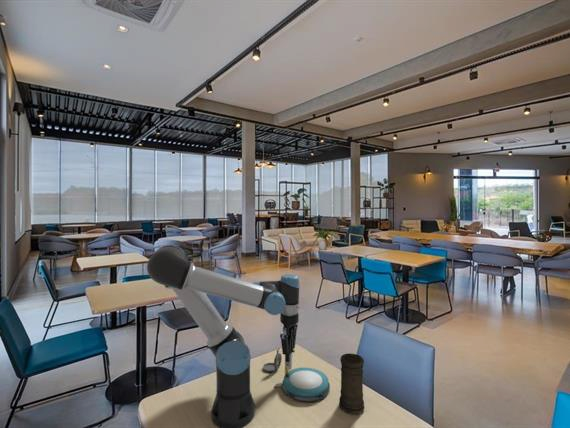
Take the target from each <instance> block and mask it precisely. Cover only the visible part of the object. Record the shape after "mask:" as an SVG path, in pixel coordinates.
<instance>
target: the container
mask: <svg viewBox="0 0 570 428" xmlns="http://www.w3.org/2000/svg"><path fill="white" fill-rule="evenodd" d="M339 360H340V365H341V368H340V373H341V374H340V397H339V400H338V401H339V402H338V404H339V408H340V409H341V410H342V411H343V412H344V413H345V414H348V415H352V416H353V415H355V416H358V415H361V414H363V413H364V411H365V401H364V391H363V390H364V387H363V386H364V385H363V383H364V382H363V381H364V369H363V368H364V364H365V359H364V357H362V356H361V355H359V354H356V353H350V352H349V353H344V354H342V355H341V356H340V359H339Z"/></svg>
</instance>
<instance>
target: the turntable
mask: <svg viewBox="0 0 570 428" xmlns="http://www.w3.org/2000/svg"><path fill="white" fill-rule="evenodd" d="M283 380H284V387H285V388H286V390H287V391H288V392H290V393H291V394H294V395H296V396H300V397H315V396H319V395H321V394H323V393H324V392H325V391H326V390H327V389H328V382H329V379H328V376H327V375H326V374H325V373H324V372H323V371H321V370H318V369H315V368H313V367H298V368H297V367H296V368H294V369H293V368H292V369H291V370H289V364H285V363H284V376H283Z"/></svg>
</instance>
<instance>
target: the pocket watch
mask: <svg viewBox="0 0 570 428" xmlns="http://www.w3.org/2000/svg"><path fill="white" fill-rule="evenodd" d="M279 351H280V347H278V348H277V350H276V355H274V356H275V357H274V359H273V362H267V363H265V364H263V366H262V368H263V370H264V371H265V372H269V373H272V372H273V373H274V372H276V371H277V370H279V368H281V367H280V366H281V364H282V353H280V352H279Z"/></svg>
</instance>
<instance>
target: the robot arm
mask: <svg viewBox="0 0 570 428" xmlns="http://www.w3.org/2000/svg"><path fill="white" fill-rule="evenodd" d="M146 271H147V274H148V276H149V277H150V279H151V280H152V281H154V282H155V283H157V284H159V285H163V286H164V287H165V288H166V289H169V290H173V292H174V293H175V295H176V296H177V298H178V299H179V301H180V302H181V303H182V304H183V306H184V307H185V309H186V310H187V312H188V313H189V314H190V316H191V317H192V319H193V320H194V321H195V323H196V325H197V326H198V327H199V328H200V330H201V331H202V333H203V334H204V336H205V337H206V338H207V341H206V345H207V347H208V348H209V350H210V351H211V353H212V354H213V356H214V358H215V367H216V368H215V369H216V373H215V374H216V377H215V378H216V394H215V396H214V397H215V398H214V400H213V404H212V407H211V420H212V423H213V424H214V425H215V426H217V427H220V428H242V427H244V426H246V425H247V424H249V423H250V422H251V421H252V420H253V419H254V417H255V414H256V403H255V401H254V398H253V395H252V392H251V358H252V357H251V352H250V348H249V347H248V345H247V344H246V343H245V340H244V337H243V336H242V334H241V333H240V332H239V331H238V330H236V329H235V328H234V325H233V324H230V323H227V322H226V321H225V320H224V318H223V316H222V315H221V314H220V312H219V311H218V310H217V308H216V307H215V305H214V304H213V303H212V301H211V299H210V297H208V295H211V296H215V297H219V298H220V299H221V298H222V299H225V300H229V301H233V302H236V303H239V304H244V305H247V306H251V307H254V308H258V309H262V310H265V312H266V313H268V314H270V315H271V316H278V315H280V319H279V321H280V323H281V324H282V325H283V327H282V333H280V335H279V338H280V340H281V341H280V343H281V350H282V351H281V354H282V355H284V365H285V364H289V371H291V370H293V353H295V350H294V349H295V348H296V339H297V330H298V328H299V327H298V323H299V315H300V314H299V310H300V308H301V307H300V306H299V304H300V303H299V302H300V288H301V287H300V278H299V276H298V275H296V274H292V273H287V274H282V275H281V277H280V280H266V281H264V280H263V281H262V280H260V281H255V282H250V281H249V282H248V281H245V280H242V279H239V278H235V277H232V276H229V275H225V274H222V273H218V272H216V271H212V270H209V269H205V268H203V267H198V266H196V265H194V262H193V261H190V260H189V259H187V255H186V253H185V251H184V250H183V249H182V248H181V247H179V246H177V245H174V244H168V245H167V244H166V245H163V246H162V247H159V248H158V249H156V250H155V251H154V252H153V254H152V255H151V256H150V257H149V258H148V261H147V265H146Z"/></svg>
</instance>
